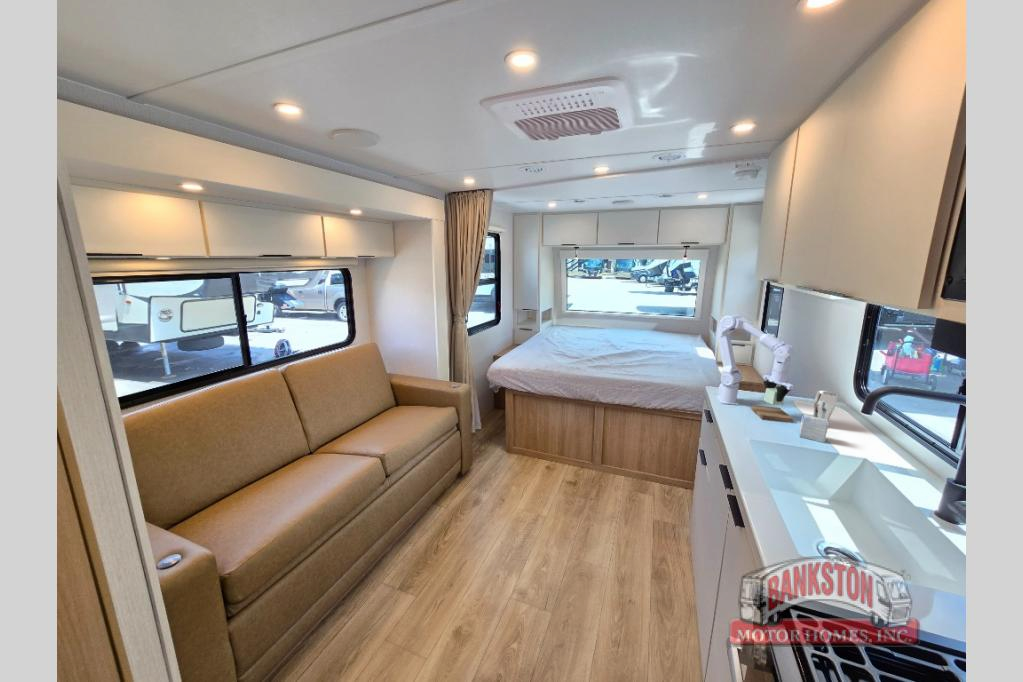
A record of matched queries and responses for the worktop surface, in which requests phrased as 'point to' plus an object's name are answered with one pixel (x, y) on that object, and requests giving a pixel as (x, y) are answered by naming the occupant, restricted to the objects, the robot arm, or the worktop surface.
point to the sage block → (772, 396)
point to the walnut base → (771, 413)
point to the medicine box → (813, 428)
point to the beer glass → (824, 404)
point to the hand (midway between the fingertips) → (774, 398)
